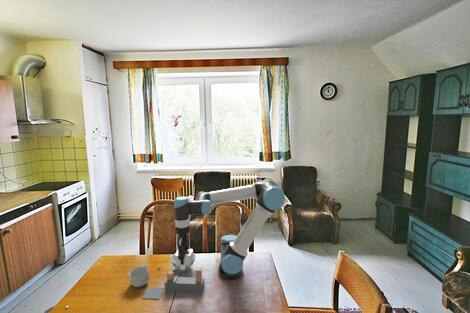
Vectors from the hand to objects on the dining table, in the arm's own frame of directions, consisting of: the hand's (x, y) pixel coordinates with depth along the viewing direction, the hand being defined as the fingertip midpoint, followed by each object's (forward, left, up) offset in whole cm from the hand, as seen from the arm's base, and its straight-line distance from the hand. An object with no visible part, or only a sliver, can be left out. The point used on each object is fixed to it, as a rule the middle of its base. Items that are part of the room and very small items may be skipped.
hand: (184, 265), depth 141 cm
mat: (+16, +5, -14) cm, 22 cm away
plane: (0, 0, -14) cm, 14 cm away
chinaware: (+6, -19, -14) cm, 25 cm away
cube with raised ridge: (0, 0, +2) cm, 2 cm away
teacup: (+27, -4, -14) cm, 31 cm away
